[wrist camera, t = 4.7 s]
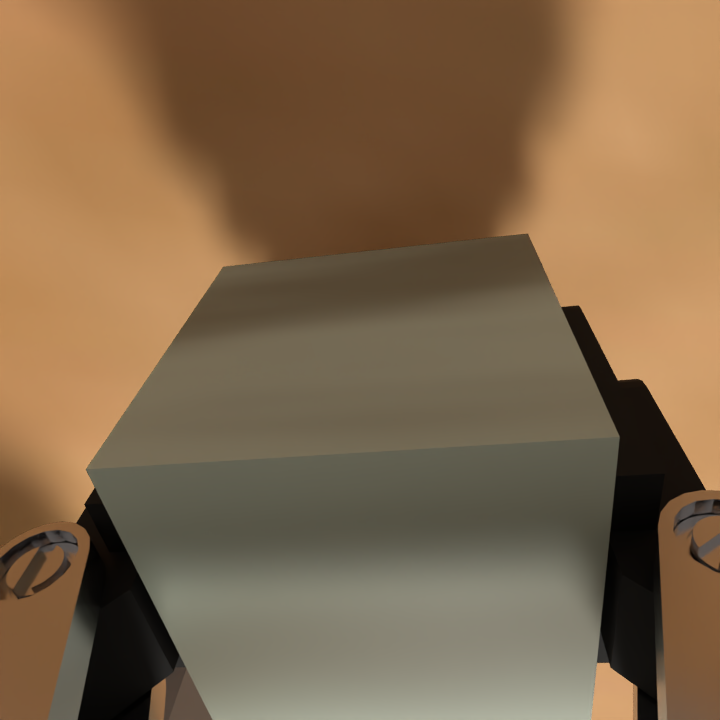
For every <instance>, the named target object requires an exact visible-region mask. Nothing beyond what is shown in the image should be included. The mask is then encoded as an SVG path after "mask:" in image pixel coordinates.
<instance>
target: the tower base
mask: <svg viewBox="0 0 720 720" xmlns="http://www.w3.org/2000/svg"><path fill="white" fill-rule="evenodd" d="M165 680H166V697H165V709H164V720H212V718H211V716H210V714H209V712H208V710H207V708H206V706H205V704H204V702H203V700H202V698H201V696H200V694H199V692H198V690H197V688H196V686H195V684H194V682H193V680H192V678H191V676H190V674H189V672H188V670H187V668H186V667H175V669H174V672H173V673H172V674H170V675H169V676H168V677H166V678H165Z"/></svg>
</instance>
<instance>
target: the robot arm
mask: <svg viewBox="0 0 720 720" xmlns="http://www.w3.org/2000/svg"><path fill="white" fill-rule="evenodd" d="M561 308H562V310H563V313H564V315H565V317H566V319H567V321H568V324H569V326H570V328H571V330H572V333H573V335H574V337H575V339H576V341H577V344H578V346H579V348H580V350H581V352H582V355H583V357H584V359H585V361H586V363H587V366H588V368H589V370H590V372H591V375H592V377H593V379H594V381H595V383H596V386H597V388H598V390H599V392H600V394H601V397H602V399H603V401H604V403H605V406H606V408H607V410H608V412H609V414H610V417H611V419H612V421H613V423H614V425H615V428H616V430H617V432H618V434H619V437H620V439H619V449H618V459H617V468H616V478H615V488H614V498H613V508H612V518H611V528H610V538H609V548H608V557H607V567H606V577H605V587H604V597H603V607H602V617H601V627H600V636H599V646H598V656H597V663H610V667H611V668H612V669H613V670H615V671H616V672H618V673H619V674H620V675H622V676H623V677H624V678H626V679H627V680H629V681H630V682H631V683H633V720H720V491H714V490H706V489H705V488H704V486H703V484H702V482H701V481H700V479H699V477H698V475H697V474H696V472H695V470H694V468H693V467H692V465H691V463H690V461H689V460H688V458H687V456H686V454H685V453H684V451H683V449H682V447H681V446H680V444H679V442H678V441H677V439H676V437H675V435H674V434H673V432H672V430H671V428H670V427H669V425H668V423H667V421H666V420H665V418H664V416H663V414H662V413H661V411H660V409H659V407H658V406H657V404H656V402H655V400H654V399H653V397H652V395H651V393H650V392H649V390H648V388H647V387H646V385H645V384H644V383H643V381H642V380H639V379H632V380H619V381H618V380H617V378H616V376H615V374H614V372H613V370H612V369H611V367H610V365H609V363H608V361H607V359H606V357H605V355H604V353H603V351H602V349H601V347H600V345H599V343H598V341H597V339H596V337H595V335H594V333H593V331H592V329H591V327H590V325H589V323H588V321H587V319H586V318H585V316H584V314H583V312H582V310H581V308H580V307H579V306H568V307H561ZM84 505H85V507H86V509H85V510H84V512H83V513H82V515H81V516H80V518H79V520H78V521H77V523H71V522H56V523H49V524H45V525H42V526H39V527H36V528H33V529H30V530H28V531H27V532H25V533H23V534H21V535H19V536H17V537H15V538H14V539H12V540H11V541H10V542H8V543H7V544H6V545H4V546H3V547H2V548H0V720H164V709H165V697H166V680H165V678H166V677H168V676H169V675H170V674H172V673H173V672H174V669H175V667H186V666H185V664H184V662H183V660H182V659H181V657H180V655H179V653H178V651H177V649H176V647H175V645H174V643H173V641H172V639H171V637H170V635H169V633H168V631H167V629H166V627H165V625H164V623H163V621H162V619H161V617H160V615H159V613H158V611H157V609H156V607H155V605H154V603H153V601H152V599H151V597H150V595H149V593H148V591H147V589H146V587H145V585H144V583H143V581H142V579H141V577H140V575H139V574H138V572H137V570H136V568H135V566H134V564H133V562H132V560H131V558H130V556H129V554H128V552H127V550H126V548H125V546H124V544H123V542H122V540H121V538H120V536H119V534H118V532H117V530H116V528H115V526H114V524H113V522H112V520H111V518H110V516H109V514H108V512H107V510H106V508H105V506H104V504H103V502H102V500H101V498H100V496H99V494H98V492H97V491H96V489H95V488H94V490H93V492H92V493H91V495H90V496H89V498H88V499H87V501H86V503H85V504H84Z"/></svg>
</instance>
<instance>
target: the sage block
mask: <svg viewBox="0 0 720 720" xmlns="http://www.w3.org/2000/svg"><path fill="white" fill-rule="evenodd" d="M619 439H620V437H619V434H618V432H617V430H616V428H615V425H614V423H613V421H612V419H611V417H610V414H609V412H608V410H607V408H606V406H605V403H604V401H603V399H602V397H601V394H600V392H599V390H598V388H597V386H596V383H595V381H594V379H593V377H592V375H591V372H590V370H589V368H588V366H587V363H586V361H585V359H584V357H583V355H582V352H581V350H580V348H579V346H578V344H577V341H576V339H575V337H574V335H573V333H572V330H571V328H570V326H569V324H568V321H567V319H566V317H565V315H564V313H563V310H562V308H561V306H560V304H559V302H558V299H557V297H556V295H555V293H554V290H553V288H552V286H551V284H550V282H549V279H548V277H547V275H546V273H545V271H544V268H543V266H542V264H541V262H540V259H539V257H538V255H537V253H536V251H535V248H534V246H533V244H532V242H531V240H530V237H529V235H528V234H519V235H510V236H501V237H492V238H483V239H473V240H464V241H455V242H446V243H437V244H428V245H418V246H409V247H400V248H391V249H382V250H372V251H363V252H354V253H345V254H336V255H327V256H317V257H308V258H299V259H290V260H281V261H271V262H262V263H253V264H244V265H235V266H226V267H223V268H222V269H221V271H220V272H219V274H218V275H217V277H216V278H215V280H214V281H213V283H212V284H211V286H210V287H209V289H208V290H207V292H206V293H205V295H204V296H203V297H202V299H201V300H200V302H199V303H198V305H197V306H196V308H195V309H194V311H193V312H192V314H191V315H190V317H189V318H188V320H187V321H186V323H185V324H184V325H183V327H182V328H181V330H180V331H179V333H178V334H177V336H176V337H175V339H174V340H173V342H172V343H171V345H170V346H169V348H168V349H167V351H166V352H165V353H164V355H163V356H162V358H161V359H160V361H159V362H158V364H157V365H156V367H155V368H154V370H153V371H152V373H151V374H150V376H149V377H148V379H147V380H146V381H145V383H144V384H143V386H142V387H141V389H140V390H139V392H138V393H137V395H136V396H135V398H134V399H133V401H132V402H131V404H130V405H129V407H128V408H127V409H126V411H125V412H124V414H123V415H122V417H121V418H120V420H119V421H118V423H117V424H116V426H115V427H114V429H113V430H112V432H111V433H110V435H109V436H108V437H107V439H106V440H105V442H104V443H103V445H102V446H101V448H100V449H99V451H98V452H97V454H96V455H95V457H94V458H93V460H92V461H91V463H90V464H89V465H88V467H87V468H86V471H87V473H88V475H89V477H90V479H91V481H92V483H93V485H94V487H95V489H96V491H97V492H98V494H99V496H100V498H101V500H102V502H103V504H104V506H105V508H106V510H107V512H108V514H109V516H110V518H111V520H112V522H113V524H114V526H115V528H116V530H117V532H118V534H119V536H120V538H121V540H122V542H123V544H124V546H125V548H126V550H127V552H128V554H129V556H130V558H131V560H132V562H133V564H134V566H135V568H136V570H137V572H138V574H139V575H140V577H141V579H142V581H143V583H144V585H145V587H146V589H147V591H148V593H149V595H150V597H151V599H152V601H153V603H154V605H155V607H156V609H157V611H158V613H159V615H160V617H161V619H162V621H163V623H164V625H165V627H166V629H167V631H168V633H169V635H170V637H171V639H172V641H173V643H174V645H175V647H176V649H177V651H178V653H179V655H180V657H181V659H182V660H183V662H184V664H185V666H186V668H187V670H188V672H189V674H190V676H191V678H192V680H193V682H194V684H195V686H196V688H197V690H198V692H199V694H200V696H201V698H202V700H203V702H204V704H205V706H206V708H207V710H208V712H209V714H210V716H211V718H212V720H591V715H592V706H593V696H594V686H595V676H596V666H597V656H598V646H599V636H600V627H601V617H602V607H603V597H604V587H605V577H606V567H607V557H608V548H609V538H610V528H611V518H612V508H613V498H614V488H615V478H616V468H617V459H618V449H619Z"/></svg>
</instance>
